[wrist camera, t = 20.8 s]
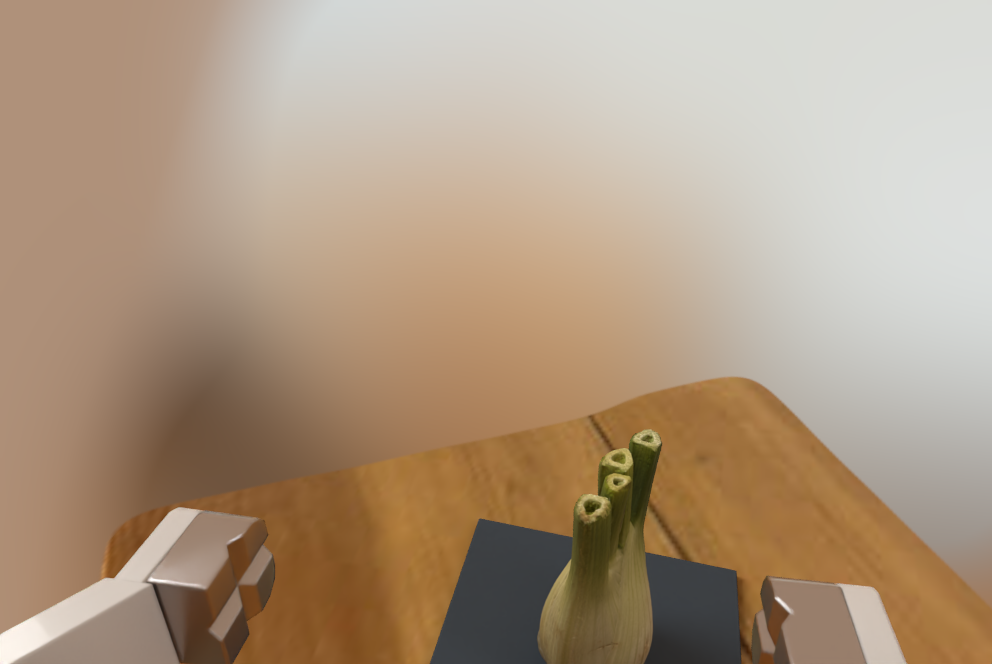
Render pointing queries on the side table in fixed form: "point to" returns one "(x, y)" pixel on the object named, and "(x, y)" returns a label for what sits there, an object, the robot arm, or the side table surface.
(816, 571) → the side table surface
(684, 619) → the mat
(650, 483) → the fennel bulb
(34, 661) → the robot arm
